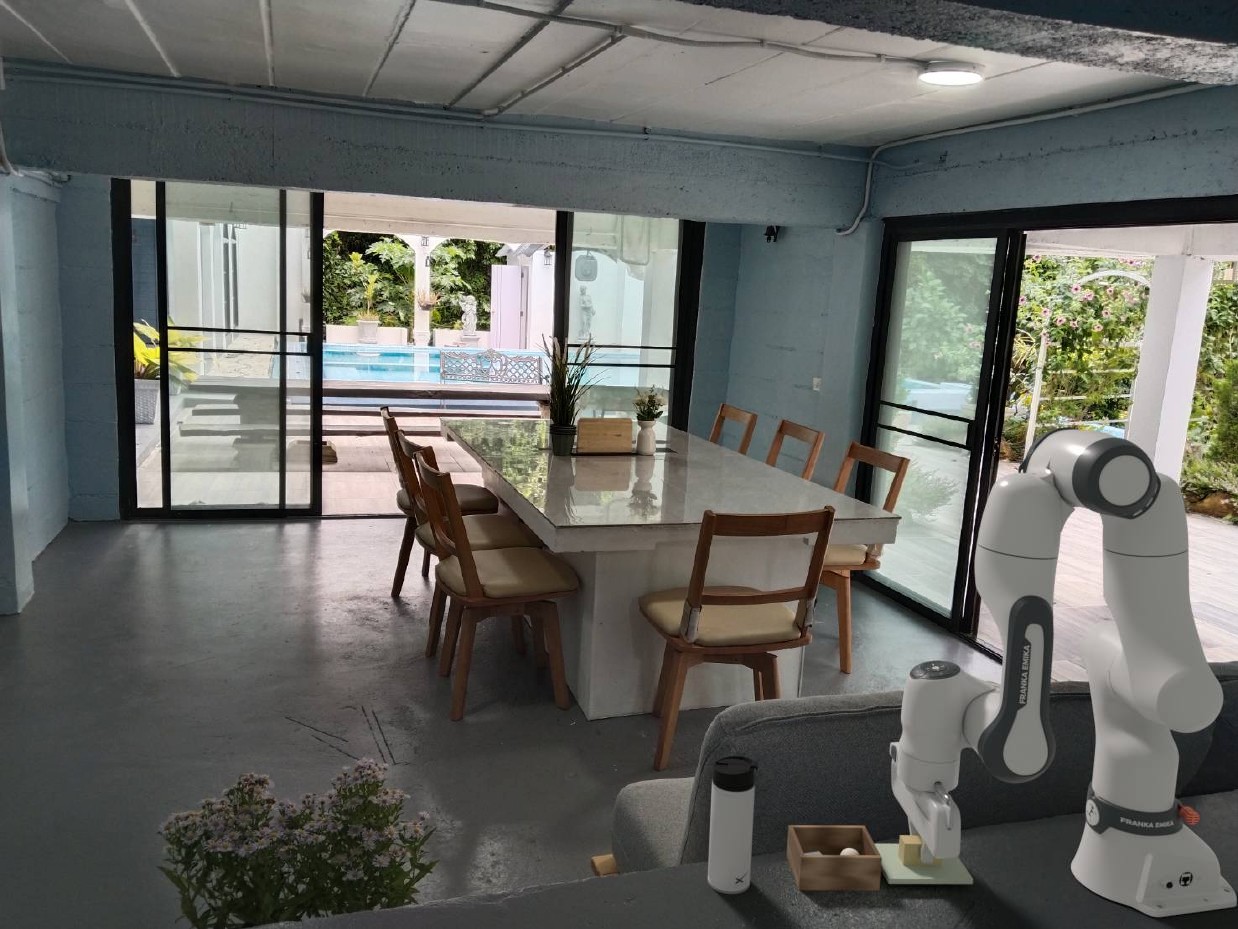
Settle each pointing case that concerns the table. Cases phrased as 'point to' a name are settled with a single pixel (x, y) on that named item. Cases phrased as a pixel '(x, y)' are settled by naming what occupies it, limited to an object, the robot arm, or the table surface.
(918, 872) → the lid
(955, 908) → the table surface
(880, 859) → the walnut box
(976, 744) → the robot arm
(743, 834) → the travel mug
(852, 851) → the cream ball
